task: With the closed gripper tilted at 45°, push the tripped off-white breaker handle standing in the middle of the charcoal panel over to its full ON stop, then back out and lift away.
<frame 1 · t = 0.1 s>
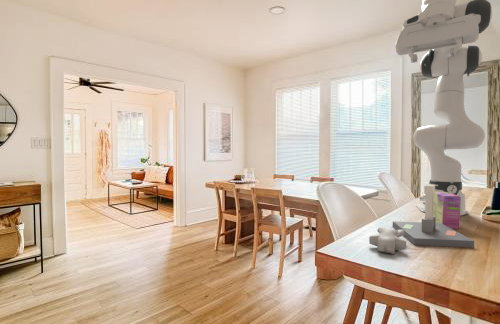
hand: (432, 58, 82), 54 cm above the table, tool tilted 30°, fingers open, 8 cm apart
breaker lever: (429, 206, 94), point 10 cm above the table, hinge at 0.0°
bunny figurine: (388, 248, 84), on the table
breaker panel: (428, 235, 94), on the table
box: (444, 225, 108), on the table
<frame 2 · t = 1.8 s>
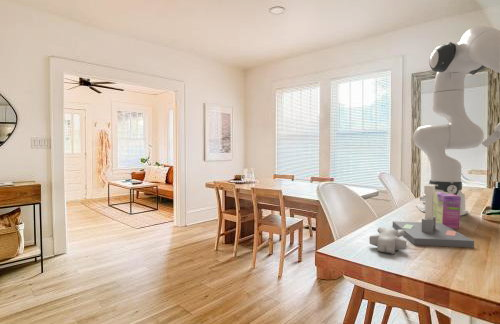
hand: (484, 145, 85), 29 cm above the table, tool tilted 45°, fingers open, 7 cm apart
nothing on the table moved.
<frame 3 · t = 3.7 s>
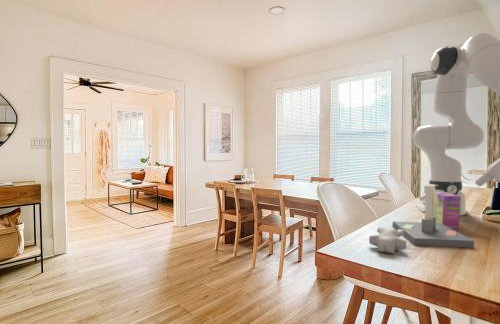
hand: (477, 184, 86), 18 cm above the table, tool tilted 45°, fingers closed
nothing on the table moved.
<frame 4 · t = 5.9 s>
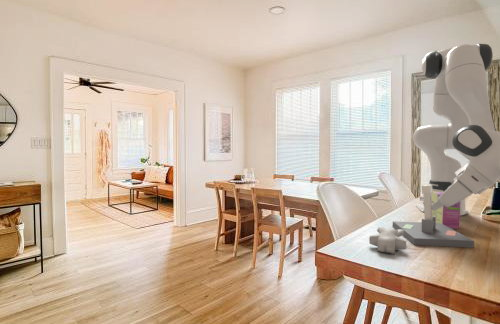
hand: (433, 208, 93), 9 cm above the table, tool tilted 45°, fingers closed, pressing on breaker lever
breaker lever: (428, 206, 94), point 10 cm above the table, hinge at 3.7°, touching gripper
everything else where it was.
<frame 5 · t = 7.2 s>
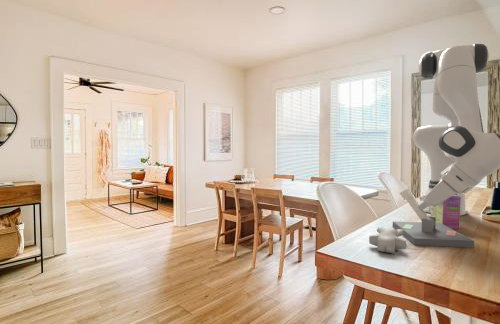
hand: (420, 207, 95), 9 cm above the table, tool tilted 45°, fingers closed, pressing on breaker lever
breaker lever: (417, 208, 96), point 9 cm above the table, hinge at 36.1°, touching gripper
everything else where it was.
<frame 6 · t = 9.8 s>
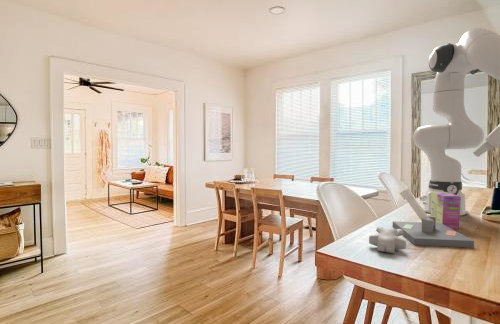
hand: (475, 155, 86), 27 cm above the table, tool tilted 45°, fingers closed
breaker lever: (417, 208, 96), point 9 cm above the table, hinge at 36.1°
everything else where it was.
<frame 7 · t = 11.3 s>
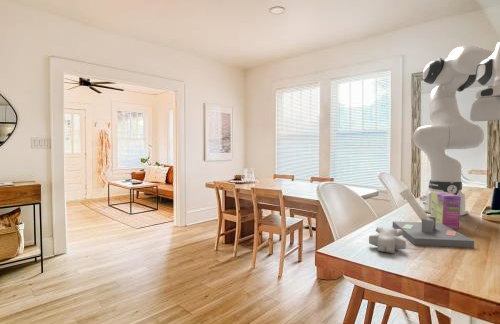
nothing on the table moved.
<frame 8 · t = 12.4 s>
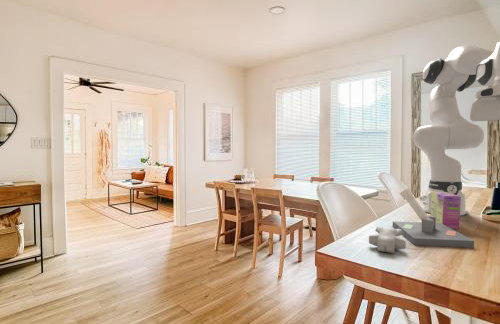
nothing on the table moved.
at the end: breaker lever at +36° (first picture: +0°) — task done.
